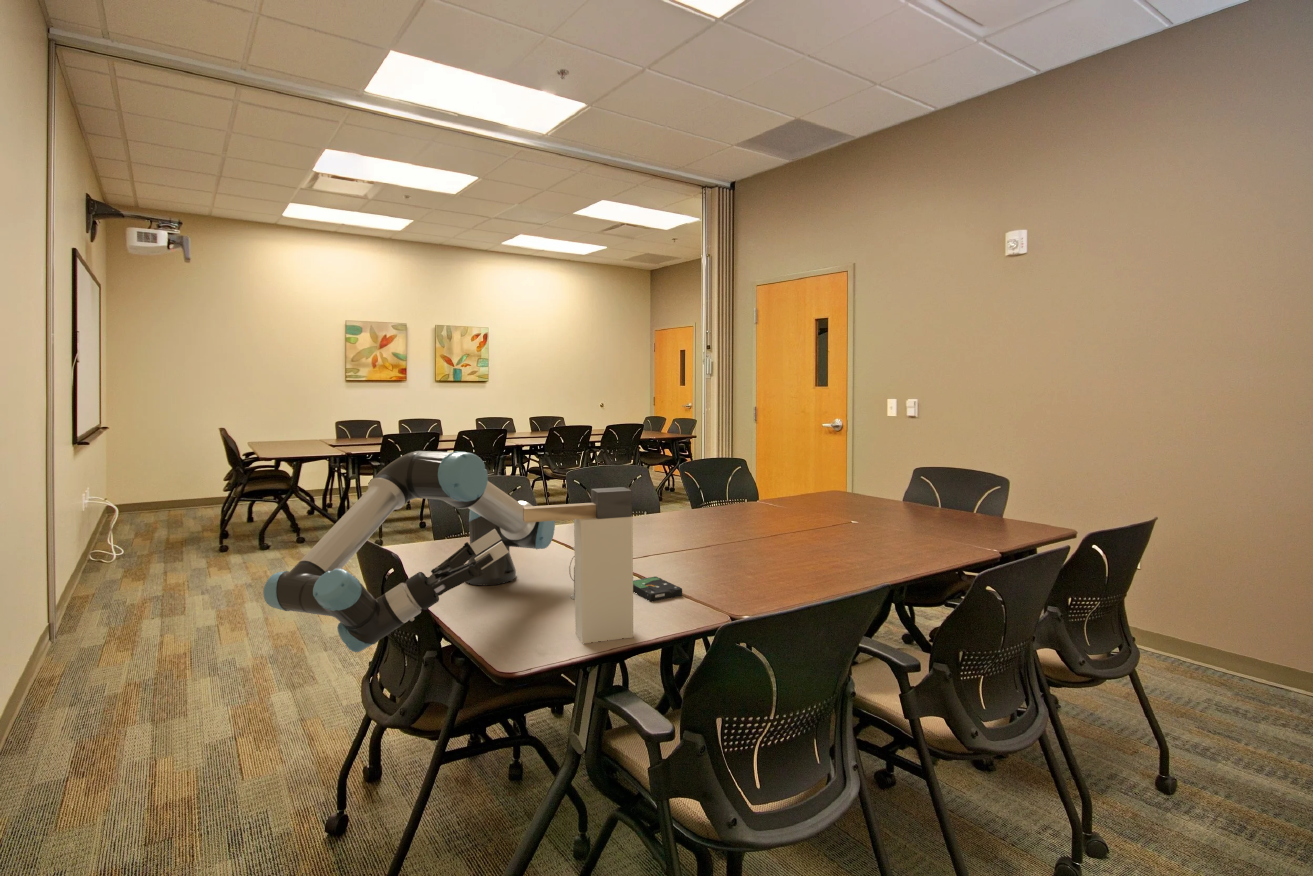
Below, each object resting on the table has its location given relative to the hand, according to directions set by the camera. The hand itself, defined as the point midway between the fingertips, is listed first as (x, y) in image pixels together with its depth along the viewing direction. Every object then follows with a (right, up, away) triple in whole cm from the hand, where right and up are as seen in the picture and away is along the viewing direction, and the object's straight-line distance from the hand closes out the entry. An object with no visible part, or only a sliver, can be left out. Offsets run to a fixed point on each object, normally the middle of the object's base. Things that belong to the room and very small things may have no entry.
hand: (501, 539), depth 149 cm
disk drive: (+33, -22, +43) cm, 59 cm away
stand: (+22, -24, +9) cm, 33 cm away
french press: (+14, -22, +39) cm, 47 cm away
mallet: (+16, +4, +5) cm, 17 cm away
